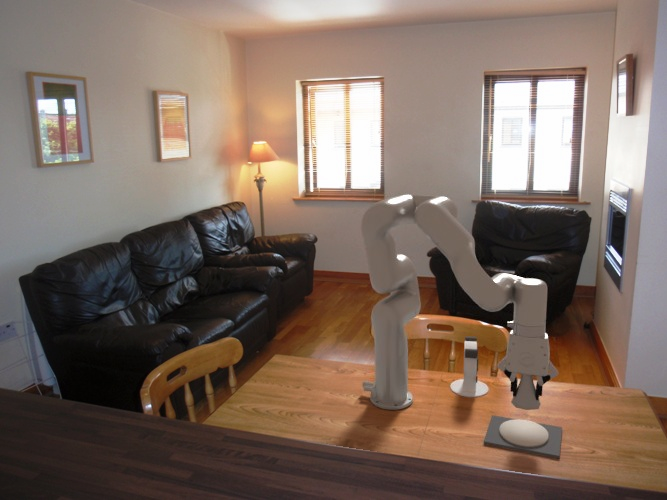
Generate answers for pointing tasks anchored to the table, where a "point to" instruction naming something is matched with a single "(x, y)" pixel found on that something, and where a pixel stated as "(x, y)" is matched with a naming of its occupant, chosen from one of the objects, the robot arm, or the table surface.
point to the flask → (526, 394)
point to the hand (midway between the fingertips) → (526, 395)
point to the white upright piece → (470, 372)
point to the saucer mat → (524, 436)
